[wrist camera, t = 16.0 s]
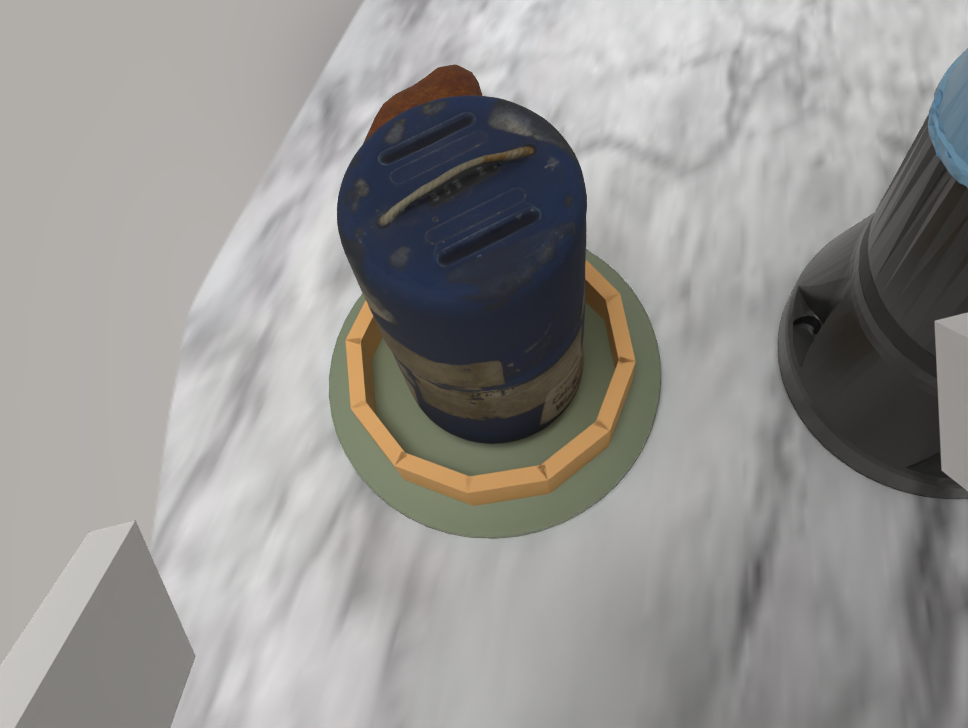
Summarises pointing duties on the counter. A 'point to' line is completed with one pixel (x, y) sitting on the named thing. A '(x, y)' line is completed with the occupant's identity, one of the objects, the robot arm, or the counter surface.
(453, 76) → the potato
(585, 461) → the green orange round dish
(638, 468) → the counter surface
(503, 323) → the canister
